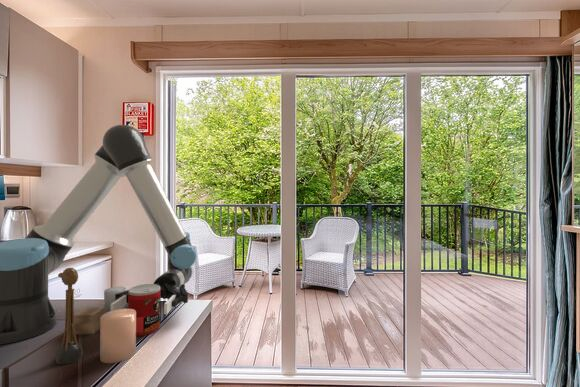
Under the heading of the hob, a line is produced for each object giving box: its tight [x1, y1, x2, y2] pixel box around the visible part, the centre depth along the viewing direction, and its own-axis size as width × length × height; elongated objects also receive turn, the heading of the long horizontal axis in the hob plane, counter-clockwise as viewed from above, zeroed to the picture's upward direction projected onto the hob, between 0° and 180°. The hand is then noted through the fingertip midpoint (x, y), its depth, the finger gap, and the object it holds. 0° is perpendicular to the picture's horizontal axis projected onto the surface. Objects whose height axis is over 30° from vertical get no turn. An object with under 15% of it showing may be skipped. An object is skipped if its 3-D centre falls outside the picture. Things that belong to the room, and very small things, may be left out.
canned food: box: [127, 283, 162, 337], centre depth 79 cm, size 8×8×11 cm
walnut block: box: [74, 306, 104, 335], centre depth 78 cm, size 5×5×5 cm
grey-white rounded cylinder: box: [103, 286, 127, 314], centre depth 90 cm, size 6×6×7 cm
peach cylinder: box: [99, 308, 137, 364], centre depth 67 cm, size 7×7×9 cm
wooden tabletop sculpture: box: [55, 267, 84, 365], centre depth 65 cm, size 6×5×20 cm
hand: (138, 309), depth 76 cm, fingers open, 13 cm apart
